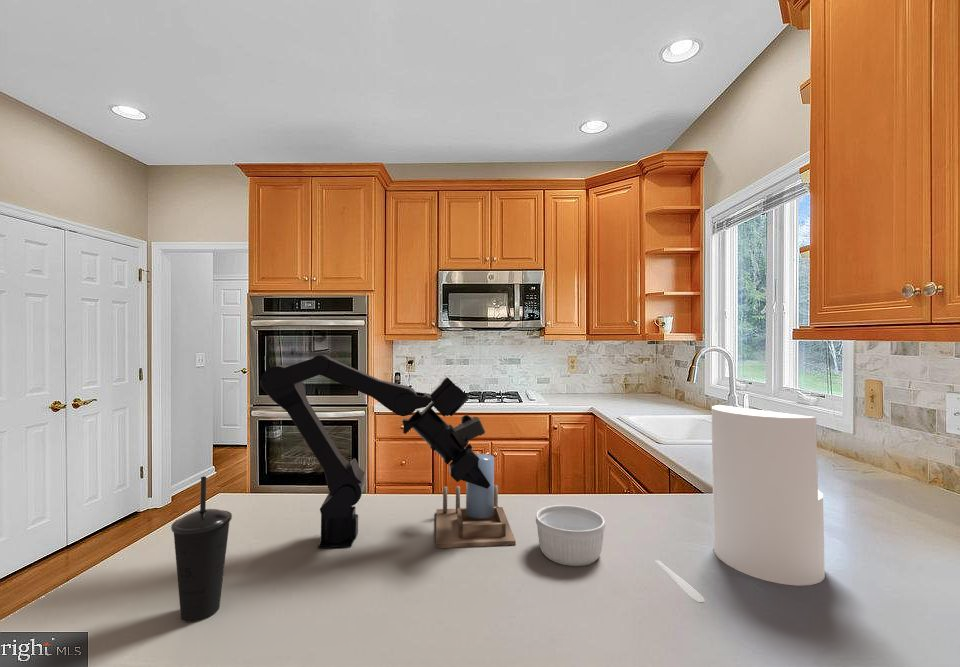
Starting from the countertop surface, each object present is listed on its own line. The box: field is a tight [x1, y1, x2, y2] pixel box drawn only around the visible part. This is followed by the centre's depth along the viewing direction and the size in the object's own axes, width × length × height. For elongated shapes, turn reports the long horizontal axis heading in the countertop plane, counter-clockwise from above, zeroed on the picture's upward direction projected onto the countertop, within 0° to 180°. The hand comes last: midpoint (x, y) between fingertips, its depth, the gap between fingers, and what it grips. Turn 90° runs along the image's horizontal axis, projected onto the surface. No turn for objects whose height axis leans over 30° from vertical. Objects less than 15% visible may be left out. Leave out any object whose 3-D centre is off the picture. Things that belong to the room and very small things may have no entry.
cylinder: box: [711, 404, 826, 587], centre depth 80 cm, size 17×17×28 cm
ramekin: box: [535, 504, 606, 567], centre depth 82 cm, size 13×13×7 cm
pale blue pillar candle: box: [465, 453, 495, 519], centre depth 91 cm, size 6×6×12 cm
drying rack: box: [435, 484, 517, 549], centre depth 93 cm, size 16×18×7 cm
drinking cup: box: [170, 476, 233, 623], centre depth 63 cm, size 8×8×20 cm
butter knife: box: [654, 559, 706, 604], centre depth 79 cm, size 1×27×3 cm
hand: (486, 481), depth 92 cm, fingers closed on pale blue pillar candle, 6 cm apart
